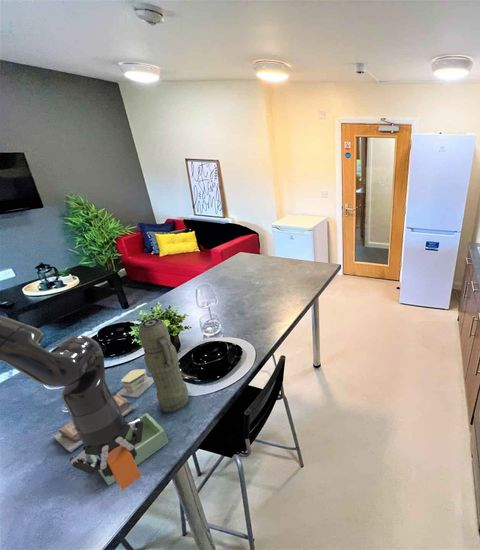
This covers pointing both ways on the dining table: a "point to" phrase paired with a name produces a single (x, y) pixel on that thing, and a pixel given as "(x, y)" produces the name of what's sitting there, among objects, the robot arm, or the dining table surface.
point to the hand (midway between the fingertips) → (121, 465)
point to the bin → (143, 442)
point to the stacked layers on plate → (135, 383)
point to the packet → (123, 467)
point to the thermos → (163, 365)
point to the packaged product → (70, 435)
